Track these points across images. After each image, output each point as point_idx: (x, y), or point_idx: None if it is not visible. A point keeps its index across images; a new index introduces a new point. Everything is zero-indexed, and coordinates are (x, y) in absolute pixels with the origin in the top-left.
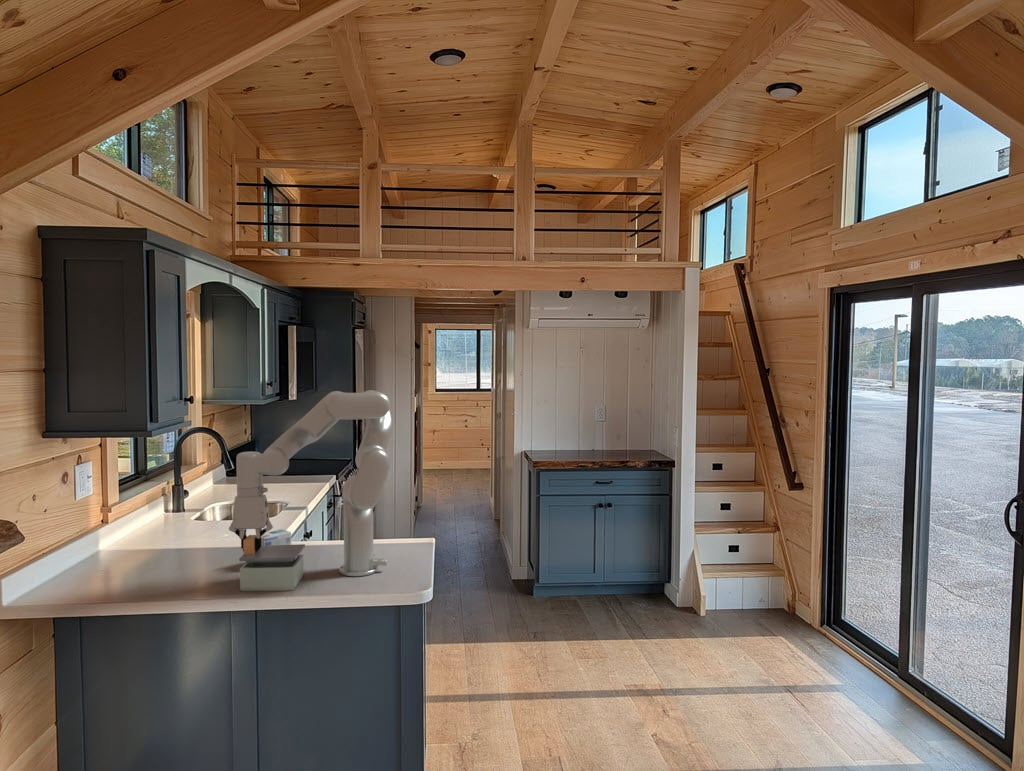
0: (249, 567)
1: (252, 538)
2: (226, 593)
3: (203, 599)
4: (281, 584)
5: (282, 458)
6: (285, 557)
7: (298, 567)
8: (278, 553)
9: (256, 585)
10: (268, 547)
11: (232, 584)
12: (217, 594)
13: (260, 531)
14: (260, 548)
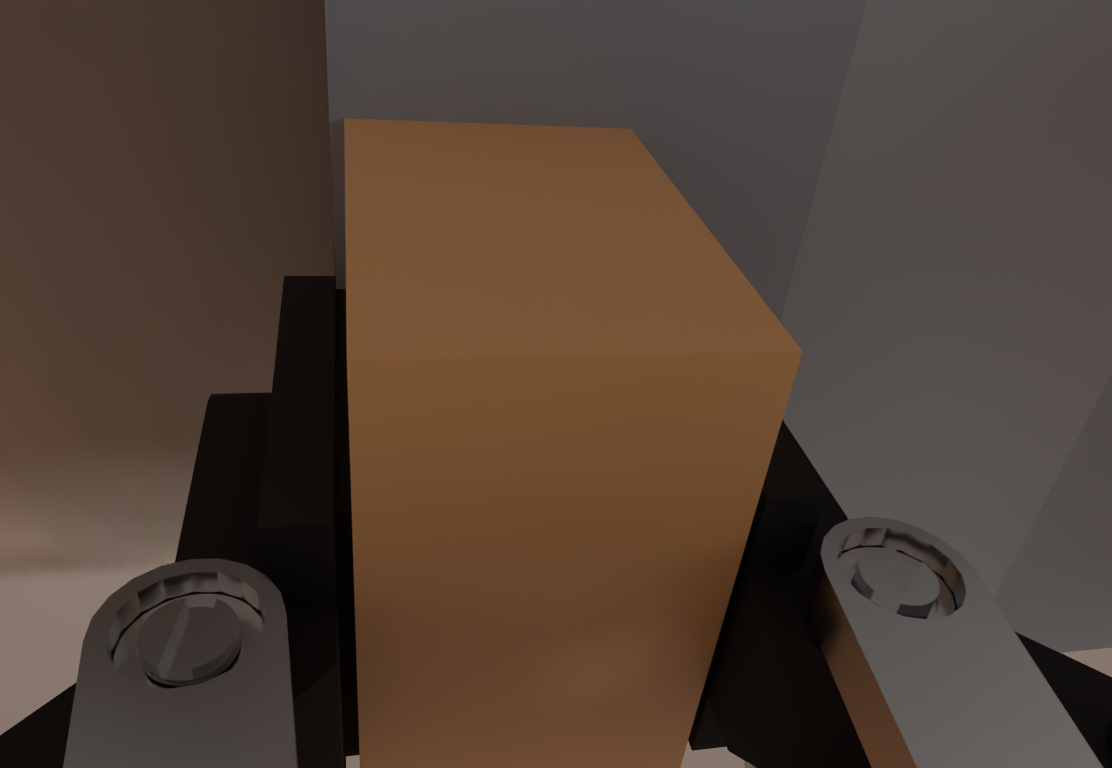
0: None
1: (610, 740)
2: (200, 418)
3: (18, 568)
4: None
5: None
6: (1077, 648)
7: None
8: (1022, 492)
9: None
10: (879, 23)
11: (115, 93)
12: (101, 445)
13: (969, 732)
14: (665, 101)
